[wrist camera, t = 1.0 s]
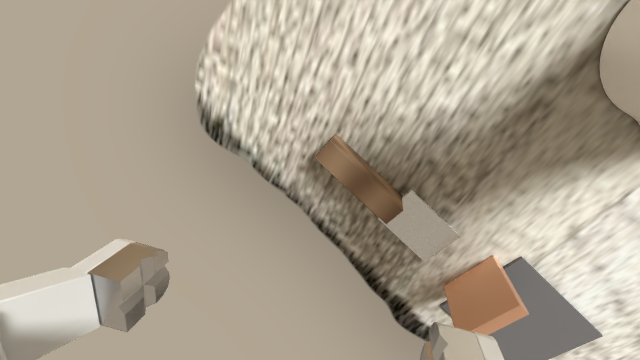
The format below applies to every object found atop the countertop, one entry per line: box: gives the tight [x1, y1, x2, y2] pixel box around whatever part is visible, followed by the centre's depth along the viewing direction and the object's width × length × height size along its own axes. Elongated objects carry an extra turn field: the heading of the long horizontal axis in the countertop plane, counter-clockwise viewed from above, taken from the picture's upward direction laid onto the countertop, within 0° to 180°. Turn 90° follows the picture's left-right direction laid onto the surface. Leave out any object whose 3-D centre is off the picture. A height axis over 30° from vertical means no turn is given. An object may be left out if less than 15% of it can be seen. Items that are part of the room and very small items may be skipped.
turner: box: [315, 134, 460, 261], centre depth 38 cm, size 21×6×4 cm, turn 48°
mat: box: [441, 257, 602, 360], centre depth 42 cm, size 16×13×1 cm
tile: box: [444, 256, 529, 335], centre depth 37 cm, size 2×8×9 cm, turn 138°
